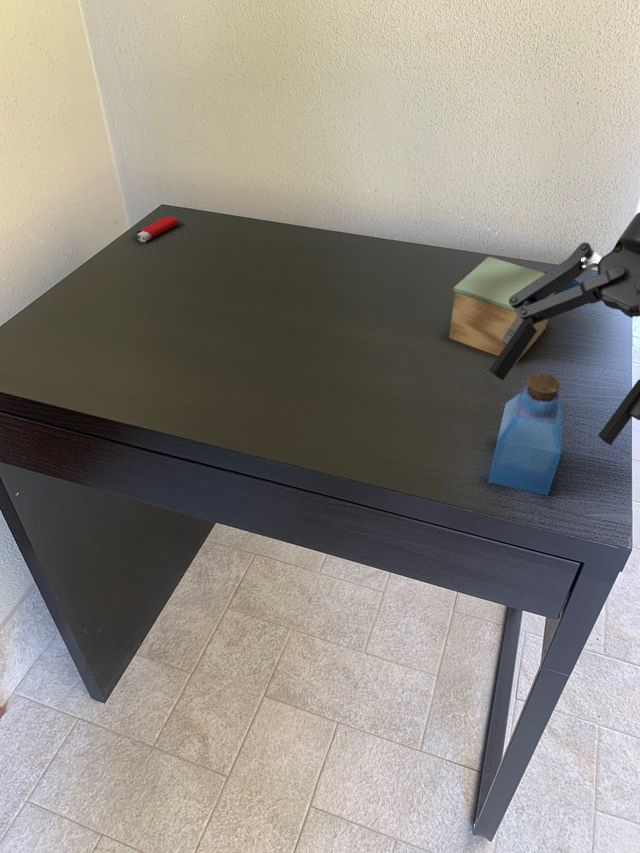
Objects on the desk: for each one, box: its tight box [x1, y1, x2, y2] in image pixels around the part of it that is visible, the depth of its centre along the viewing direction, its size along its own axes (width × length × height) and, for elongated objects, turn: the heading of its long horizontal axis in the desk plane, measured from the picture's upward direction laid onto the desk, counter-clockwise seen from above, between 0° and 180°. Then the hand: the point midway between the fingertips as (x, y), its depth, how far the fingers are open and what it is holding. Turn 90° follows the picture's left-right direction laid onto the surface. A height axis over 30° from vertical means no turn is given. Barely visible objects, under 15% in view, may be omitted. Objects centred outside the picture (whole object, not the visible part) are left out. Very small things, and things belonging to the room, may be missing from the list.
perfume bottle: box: [488, 372, 566, 496], centre depth 71 cm, size 6×6×12 cm
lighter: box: [136, 215, 179, 243], centre depth 119 cm, size 3×1×8 cm
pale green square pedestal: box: [448, 256, 556, 364], centre depth 92 cm, size 10×10×8 cm
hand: (546, 406), depth 71 cm, fingers open, 13 cm apart
